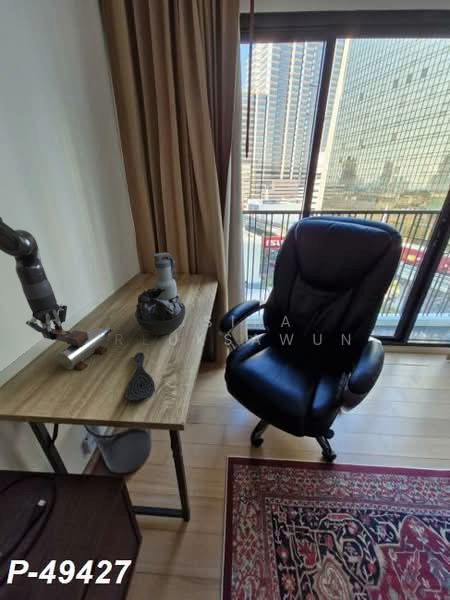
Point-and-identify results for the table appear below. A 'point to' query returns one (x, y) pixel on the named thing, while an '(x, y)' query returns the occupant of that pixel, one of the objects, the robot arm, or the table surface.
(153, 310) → the bin with black bag
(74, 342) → the scrub brush
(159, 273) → the water bottle
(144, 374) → the hairbrush
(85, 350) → the steel bottle
